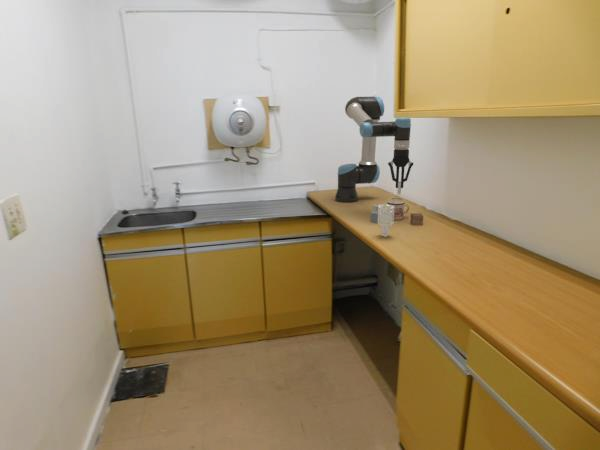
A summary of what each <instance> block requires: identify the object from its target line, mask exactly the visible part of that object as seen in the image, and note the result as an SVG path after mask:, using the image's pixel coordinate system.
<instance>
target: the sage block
mask: <svg viewBox="0 0 600 450" xmlns="http://www.w3.org/2000/svg"><path fill="white" fill-rule="evenodd" d="M379 205H383V204H372V212H373V211H378V206H379ZM382 208H386V207H382ZM381 211H383V210H381Z"/></svg>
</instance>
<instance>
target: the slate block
mask: <svg viewBox="0 0 600 450" xmlns="http://www.w3.org/2000/svg"><path fill="white" fill-rule="evenodd" d="M369 221H370V223H373V224H374V223H376V224H378V211H373V210H372V211H371V212H370V218H369Z"/></svg>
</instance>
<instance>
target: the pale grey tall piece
mask: <svg viewBox="0 0 600 450" xmlns="http://www.w3.org/2000/svg"><path fill="white" fill-rule="evenodd" d="M382 207H385V208H382ZM381 210H383V211H381ZM391 210H392V211H391ZM394 221H395V220H394V206H392V205H387V204H382V205H379V206H378V223H377V225H378V226H380V227H381V237H382V236H384V237H383V238H388V237H389V227H393V226H394ZM387 236H388V237H387Z"/></svg>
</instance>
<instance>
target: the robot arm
mask: <svg viewBox="0 0 600 450" xmlns="http://www.w3.org/2000/svg"><path fill="white" fill-rule="evenodd" d="M344 112H345V115H346V116H347V117H348V118H349V119H351V120H353V121H354V122H355V123H356V124H357V126H358V127H359V134H360V136H361V137H362V139H361V140H362V142H361V144H362V147H361V159H360V161H359V162H358V165H357V164H356V163H346V164H342V165H340V166H338V169H337V191H336V193H335V196H334V200H335V201H336V202H339V203H354V202H357V201H359V195H358V191H357V189H356V187H357V185H359V184H360V185H361V184H375V183H377V181H378V180H379V178H380V174H381V173H380V172H381V171H380V166H379V165H378V163H377V161H376V146H377V145H376V144H377V138H378V137H382V138H384V137H394V141H393V142H394V144H393V148H394V149H393V158H392V160H391V161H389V162H388V163H387V165H388V166H389V168H390V174H391V180H392V181H393V182H395V189H397V194H396V195H397V196H398V195H399V196H400V195H402V193H401V192H402V189H403V188H404V182H407V181H408V179H409V176H410V173H411V169H412V167H413V165H414V162H413V161H411V160H410V157H409V156H410V149H409V148H410V138H411V126H412V124H411V121H412V120H411V118H410V117H397V118H395V121H380V120H381V117H383V116H384V113H385V104H384V100H383V99H382V98H381V97H380V96H355V97H352V98H351V99H349V100H348V101H347V102H346V104H345V107H344ZM393 165H394V166H395V167H396V171H394V167H393ZM407 165H408V167H407ZM405 167H407V168H408V169H407V172H406V174H405ZM400 168H401V171H400ZM395 172H396V173H395ZM400 172H401V174H400ZM400 175H401V176H400ZM399 179H400V181H399Z"/></svg>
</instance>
